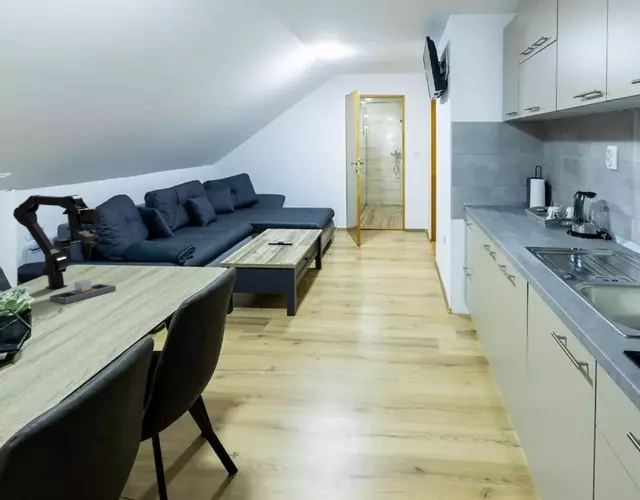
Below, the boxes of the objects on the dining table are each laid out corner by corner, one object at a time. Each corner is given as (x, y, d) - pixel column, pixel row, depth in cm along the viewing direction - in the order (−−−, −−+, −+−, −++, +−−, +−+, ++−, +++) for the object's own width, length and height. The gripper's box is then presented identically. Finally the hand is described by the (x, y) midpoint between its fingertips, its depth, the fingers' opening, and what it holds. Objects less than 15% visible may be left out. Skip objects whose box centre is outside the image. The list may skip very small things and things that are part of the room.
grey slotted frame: (50, 301, 233) (49, 296, 233) (100, 288, 253) (99, 283, 253) (66, 304, 228) (65, 298, 228) (115, 290, 248) (115, 285, 248)
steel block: (75, 296, 240) (74, 282, 239) (85, 294, 244) (83, 279, 243) (82, 297, 238) (81, 283, 237) (92, 295, 242) (90, 280, 241)
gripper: (68, 228, 238) (72, 266, 241) (106, 222, 254) (109, 258, 257) (51, 227, 244) (55, 264, 247) (89, 221, 260) (92, 256, 262)
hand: (79, 260), depth 253 cm, fingers open, 9 cm apart
